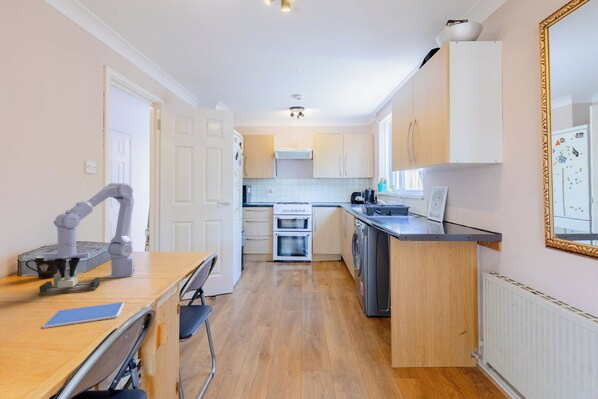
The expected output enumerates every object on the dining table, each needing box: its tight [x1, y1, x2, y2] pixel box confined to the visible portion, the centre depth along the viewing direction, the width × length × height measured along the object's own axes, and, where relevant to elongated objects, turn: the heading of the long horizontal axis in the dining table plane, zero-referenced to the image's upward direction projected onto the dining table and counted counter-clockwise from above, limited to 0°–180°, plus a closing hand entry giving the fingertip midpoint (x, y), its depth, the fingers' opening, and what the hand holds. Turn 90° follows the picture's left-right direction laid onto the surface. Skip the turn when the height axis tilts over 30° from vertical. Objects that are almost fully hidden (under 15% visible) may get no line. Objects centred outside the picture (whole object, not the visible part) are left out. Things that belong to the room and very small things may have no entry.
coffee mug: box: [25, 253, 59, 280], centre depth 131 cm, size 12×9×10 cm
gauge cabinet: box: [53, 269, 78, 286], centre depth 121 cm, size 6×6×5 cm
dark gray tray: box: [37, 276, 101, 297], centre depth 115 cm, size 18×8×4 cm, turn 111°
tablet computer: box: [42, 301, 125, 329], centre depth 93 cm, size 19×13×1 cm, turn 112°
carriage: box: [58, 269, 79, 288], centre depth 114 cm, size 5×5×6 cm
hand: (67, 276), depth 114 cm, fingers closed on carriage, 2 cm apart
